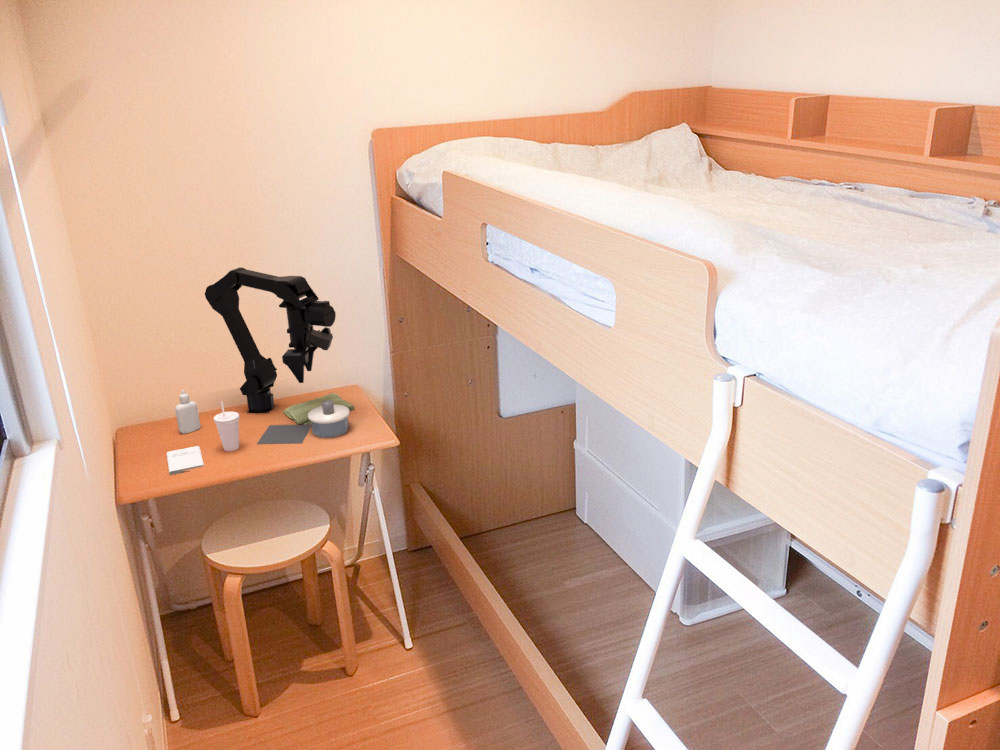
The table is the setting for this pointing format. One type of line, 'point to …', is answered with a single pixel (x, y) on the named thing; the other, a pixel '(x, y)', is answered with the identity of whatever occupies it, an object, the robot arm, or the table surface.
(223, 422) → the smoothie
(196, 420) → the eye dropper bottle
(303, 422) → the washcloth
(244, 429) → the table surface
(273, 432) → the mat
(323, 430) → the bowl
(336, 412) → the lid
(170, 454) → the external hard drive
